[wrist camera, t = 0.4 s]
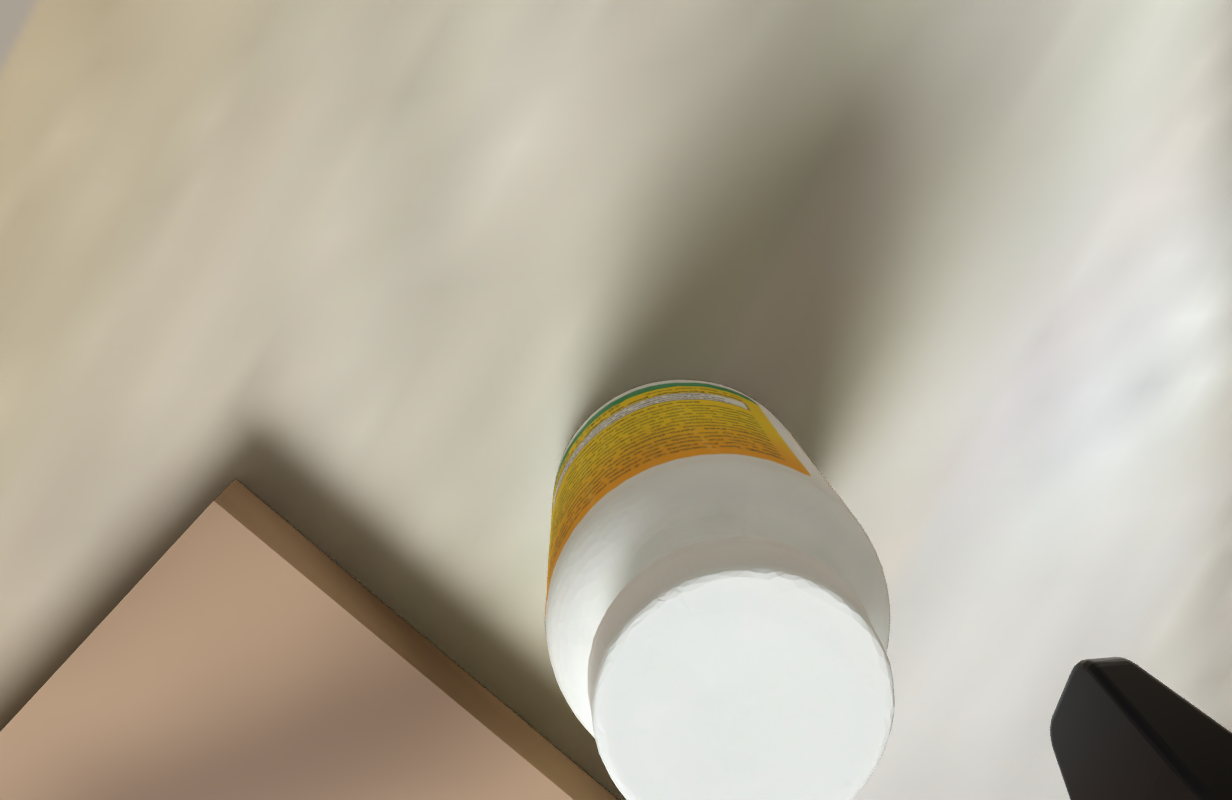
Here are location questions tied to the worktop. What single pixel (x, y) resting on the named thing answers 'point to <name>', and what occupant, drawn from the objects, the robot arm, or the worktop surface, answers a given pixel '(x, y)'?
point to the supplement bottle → (715, 604)
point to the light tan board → (269, 691)
